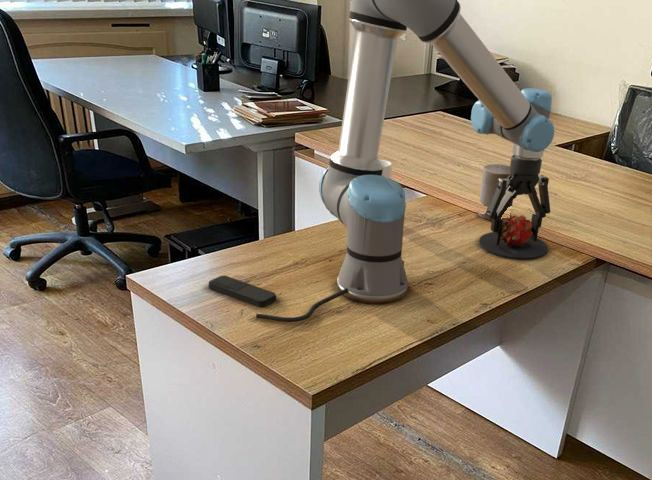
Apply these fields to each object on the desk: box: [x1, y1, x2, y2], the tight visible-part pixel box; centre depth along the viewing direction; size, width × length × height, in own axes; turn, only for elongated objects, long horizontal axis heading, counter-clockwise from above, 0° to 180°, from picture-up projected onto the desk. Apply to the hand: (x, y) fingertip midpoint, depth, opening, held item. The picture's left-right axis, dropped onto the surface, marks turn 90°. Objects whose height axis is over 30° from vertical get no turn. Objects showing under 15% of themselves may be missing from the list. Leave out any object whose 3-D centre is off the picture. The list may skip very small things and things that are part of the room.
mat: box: [478, 231, 549, 261], centre depth 182 cm, size 18×18×1 cm
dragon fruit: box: [500, 214, 533, 247], centre depth 180 cm, size 8×8×12 cm
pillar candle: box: [477, 163, 514, 221], centre depth 197 cm, size 10×10×15 cm
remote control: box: [208, 274, 277, 308], centre depth 144 cm, size 5×2×15 cm
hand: (514, 241), depth 181 cm, fingers closed on dragon fruit, 11 cm apart
